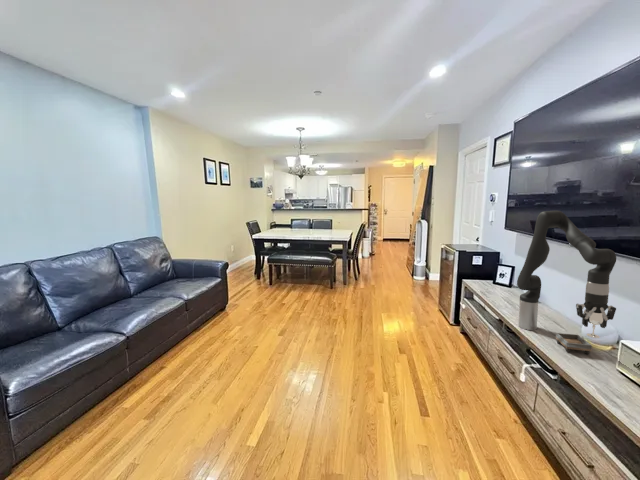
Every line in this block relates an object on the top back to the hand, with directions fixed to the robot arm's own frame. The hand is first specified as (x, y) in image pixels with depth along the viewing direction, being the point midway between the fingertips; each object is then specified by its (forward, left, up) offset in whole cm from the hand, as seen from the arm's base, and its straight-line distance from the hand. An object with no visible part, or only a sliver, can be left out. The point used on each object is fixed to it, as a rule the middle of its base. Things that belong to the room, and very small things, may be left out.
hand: (593, 326), depth 129 cm
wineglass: (0, 0, -5) cm, 5 cm away
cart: (-16, 0, -19) cm, 25 cm away
